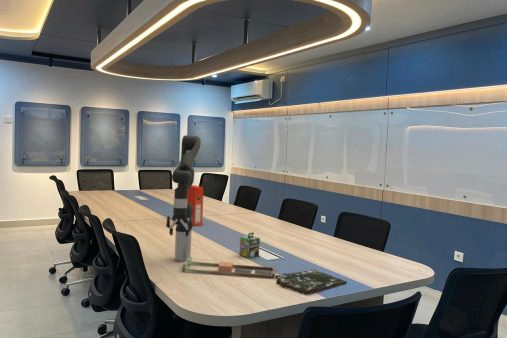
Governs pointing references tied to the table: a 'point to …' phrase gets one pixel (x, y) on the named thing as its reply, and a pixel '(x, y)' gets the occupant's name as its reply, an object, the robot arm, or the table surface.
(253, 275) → the lane
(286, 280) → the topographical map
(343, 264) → the table surface
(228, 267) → the block
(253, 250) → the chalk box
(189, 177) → the robot arm
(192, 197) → the file binder
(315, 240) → the table surface
